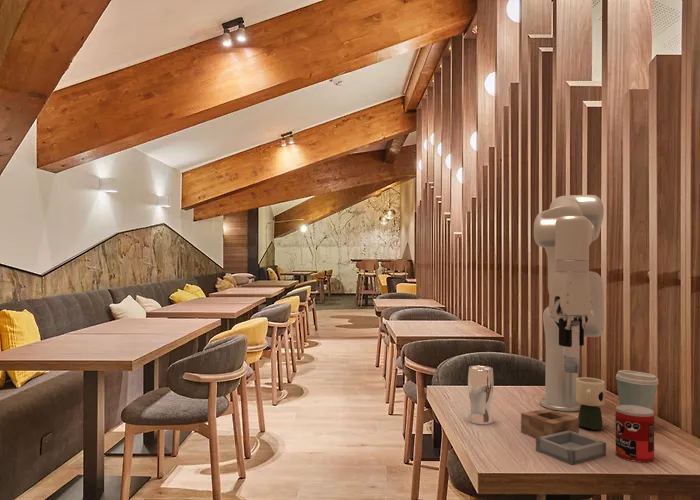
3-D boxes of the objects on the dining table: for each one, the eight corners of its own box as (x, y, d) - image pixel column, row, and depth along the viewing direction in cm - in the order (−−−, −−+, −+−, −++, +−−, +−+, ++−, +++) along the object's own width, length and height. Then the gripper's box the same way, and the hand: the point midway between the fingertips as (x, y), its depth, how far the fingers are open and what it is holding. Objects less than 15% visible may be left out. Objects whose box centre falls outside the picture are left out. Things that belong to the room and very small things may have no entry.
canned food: (608, 450, 125) (608, 404, 126) (640, 450, 126) (640, 404, 126) (628, 463, 118) (628, 414, 118) (661, 462, 118) (662, 413, 119)
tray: (569, 442, 131) (569, 430, 131) (606, 455, 122) (606, 442, 122) (535, 450, 125) (536, 437, 125) (572, 464, 116) (572, 451, 116)
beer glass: (493, 426, 143) (494, 371, 143) (467, 424, 144) (468, 369, 144) (492, 418, 150) (492, 366, 150) (467, 416, 151) (467, 364, 151)
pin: (569, 369, 126) (569, 319, 126) (582, 372, 123) (583, 321, 123) (559, 370, 124) (559, 320, 125) (572, 373, 121) (572, 321, 122)
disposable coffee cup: (622, 417, 152) (622, 366, 152) (664, 426, 144) (664, 372, 145) (609, 425, 145) (609, 371, 145) (652, 435, 137) (652, 378, 137)
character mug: (603, 436, 136) (603, 385, 136) (573, 431, 140) (573, 382, 140) (606, 424, 146) (606, 377, 146) (578, 420, 149) (578, 374, 149)
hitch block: (546, 426, 143) (547, 408, 143) (578, 438, 134) (579, 418, 134) (521, 432, 138) (521, 413, 138) (552, 444, 129) (552, 423, 129)
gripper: (580, 268, 132) (580, 341, 131) (534, 267, 123) (534, 345, 123) (608, 268, 125) (607, 345, 125) (561, 268, 117) (561, 350, 117)
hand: (571, 344), depth 124 cm, fingers closed on pin, 3 cm apart
